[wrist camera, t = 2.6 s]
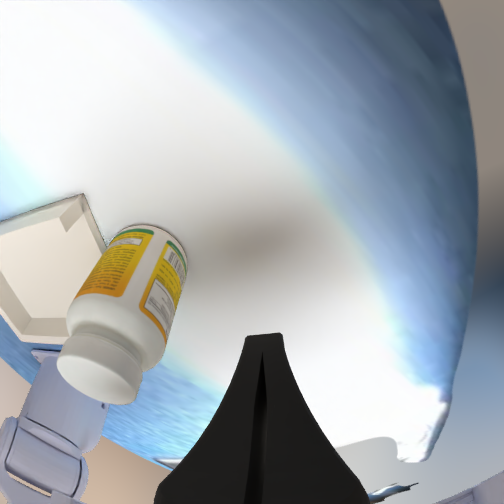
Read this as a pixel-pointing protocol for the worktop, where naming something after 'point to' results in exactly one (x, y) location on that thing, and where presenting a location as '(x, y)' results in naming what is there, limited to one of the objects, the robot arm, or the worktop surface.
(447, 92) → the worktop surface
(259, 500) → the robot arm
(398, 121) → the worktop surface
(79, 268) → the tray
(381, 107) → the worktop surface
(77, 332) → the supplement bottle
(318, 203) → the worktop surface
